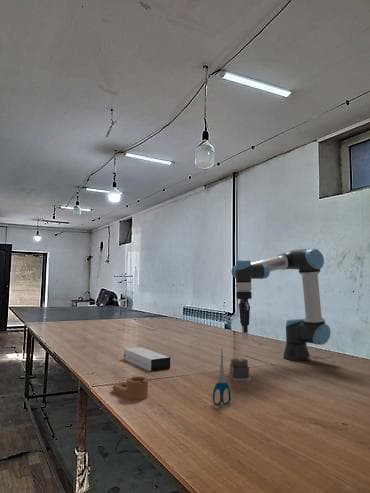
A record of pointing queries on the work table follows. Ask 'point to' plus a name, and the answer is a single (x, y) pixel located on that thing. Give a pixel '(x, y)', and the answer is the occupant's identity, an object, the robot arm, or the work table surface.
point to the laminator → (146, 359)
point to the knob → (239, 367)
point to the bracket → (132, 388)
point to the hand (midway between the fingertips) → (245, 338)
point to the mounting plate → (239, 378)
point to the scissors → (221, 385)
